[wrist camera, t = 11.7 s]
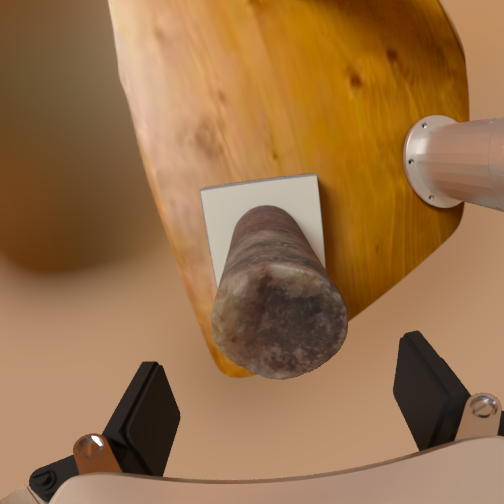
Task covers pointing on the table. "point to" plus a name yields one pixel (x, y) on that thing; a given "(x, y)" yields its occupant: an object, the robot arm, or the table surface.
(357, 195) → the table surface
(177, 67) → the table surface
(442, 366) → the robot arm
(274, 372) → the candle
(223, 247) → the podium
